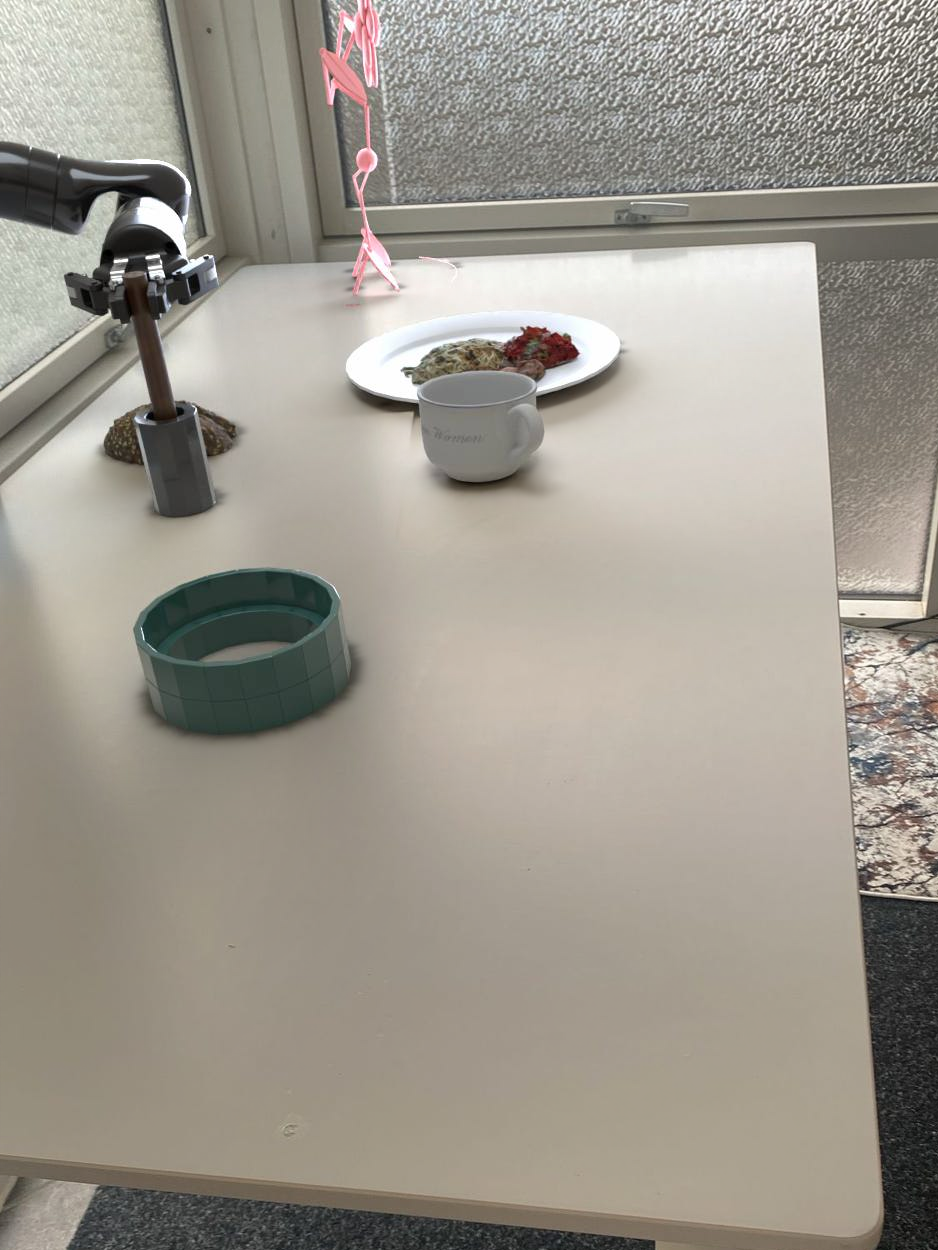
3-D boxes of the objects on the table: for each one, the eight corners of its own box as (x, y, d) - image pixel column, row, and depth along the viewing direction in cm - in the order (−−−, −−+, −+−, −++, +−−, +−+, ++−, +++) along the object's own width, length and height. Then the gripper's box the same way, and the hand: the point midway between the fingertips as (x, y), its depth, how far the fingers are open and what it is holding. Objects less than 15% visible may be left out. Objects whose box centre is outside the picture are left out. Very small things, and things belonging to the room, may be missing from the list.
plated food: (294, 381, 149) (289, 350, 147) (493, 312, 163) (491, 283, 161) (471, 441, 130) (468, 407, 128) (677, 357, 145) (678, 325, 143)
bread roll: (91, 455, 136) (78, 406, 133) (190, 417, 142) (180, 370, 139) (162, 482, 128) (150, 432, 125) (264, 441, 135) (254, 392, 131)
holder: (152, 525, 120) (128, 427, 115) (164, 500, 125) (141, 405, 119) (211, 520, 120) (189, 422, 114) (221, 496, 124) (200, 400, 119)
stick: (172, 509, 121) (119, 278, 109) (177, 500, 123) (124, 272, 110) (194, 508, 121) (143, 276, 109) (198, 499, 123) (148, 269, 110)
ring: (134, 749, 90) (112, 672, 87) (174, 646, 102) (156, 574, 98) (342, 736, 90) (328, 658, 86) (359, 634, 101) (348, 561, 97)
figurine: (347, 314, 168) (301, -15, 146) (347, 262, 188) (307, -34, 167) (468, 301, 168) (440, -30, 147) (454, 250, 188) (428, -47, 167)
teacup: (407, 466, 126) (396, 382, 121) (507, 439, 130) (501, 355, 125) (473, 515, 116) (465, 425, 111) (580, 484, 120) (577, 395, 115)
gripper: (228, 290, 125) (231, 345, 111) (80, 310, 124) (64, 367, 110) (212, 204, 120) (213, 249, 107) (58, 223, 119) (39, 271, 106)
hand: (137, 309), depth 109 cm, fingers closed on stick, 2 cm apart
